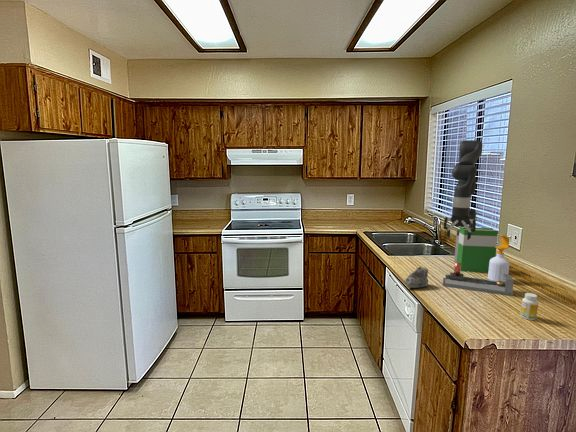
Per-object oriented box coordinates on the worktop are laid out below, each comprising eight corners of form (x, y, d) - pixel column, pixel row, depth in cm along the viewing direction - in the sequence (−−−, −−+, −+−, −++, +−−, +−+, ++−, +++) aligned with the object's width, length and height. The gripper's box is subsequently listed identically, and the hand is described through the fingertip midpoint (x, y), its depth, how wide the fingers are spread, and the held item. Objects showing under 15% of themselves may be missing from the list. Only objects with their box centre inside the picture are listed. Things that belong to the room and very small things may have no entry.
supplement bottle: (518, 317, 139) (521, 294, 138) (521, 313, 143) (524, 291, 142) (535, 321, 136) (538, 298, 134) (537, 317, 140) (540, 294, 138)
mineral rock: (406, 290, 168) (407, 270, 166) (399, 282, 179) (400, 263, 177) (433, 290, 168) (434, 270, 166) (424, 282, 178) (426, 263, 177)
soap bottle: (483, 278, 186) (488, 233, 182) (496, 276, 189) (500, 232, 185) (499, 283, 177) (504, 236, 174) (511, 281, 181) (517, 235, 177)
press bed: (443, 280, 182) (444, 266, 181) (510, 289, 169) (511, 274, 168) (442, 285, 174) (443, 271, 173) (513, 296, 161) (514, 280, 160)
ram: (449, 278, 179) (451, 261, 177) (462, 280, 176) (464, 262, 175) (449, 282, 174) (451, 263, 172) (462, 284, 171) (464, 265, 170)
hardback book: (488, 268, 202) (492, 228, 199) (493, 272, 195) (498, 230, 191) (456, 267, 205) (459, 227, 201) (460, 271, 197) (464, 229, 194)
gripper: (477, 206, 170) (474, 238, 173) (445, 204, 177) (442, 235, 179) (478, 208, 164) (474, 241, 166) (445, 206, 170) (442, 238, 172)
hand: (458, 238), depth 172 cm, fingers open, 8 cm apart
